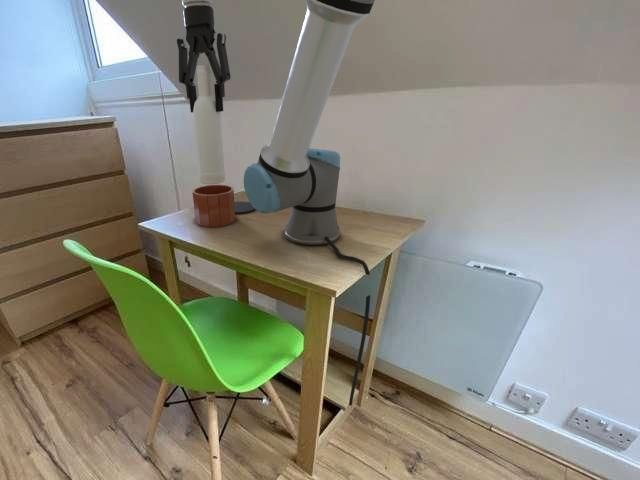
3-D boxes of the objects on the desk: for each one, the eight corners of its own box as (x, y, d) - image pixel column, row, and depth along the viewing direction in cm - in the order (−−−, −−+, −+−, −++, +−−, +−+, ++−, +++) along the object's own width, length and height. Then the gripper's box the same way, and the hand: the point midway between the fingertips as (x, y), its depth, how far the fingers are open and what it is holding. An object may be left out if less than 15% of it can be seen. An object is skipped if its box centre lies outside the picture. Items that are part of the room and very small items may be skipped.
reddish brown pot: (242, 221, 111) (241, 190, 106) (207, 230, 106) (204, 197, 100) (222, 211, 121) (220, 182, 115) (189, 219, 115) (185, 189, 110)
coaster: (263, 208, 121) (263, 207, 121) (232, 216, 116) (232, 214, 115) (243, 201, 131) (243, 199, 130) (214, 207, 125) (214, 206, 125)
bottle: (227, 178, 109) (219, 65, 93) (223, 184, 103) (215, 63, 87) (202, 178, 110) (191, 67, 94) (197, 184, 103) (184, 65, 88)
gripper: (241, 3, 83) (245, 110, 95) (173, 14, 91) (184, 111, 103) (226, -3, 77) (232, 112, 89) (155, 10, 86) (169, 113, 98)
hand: (206, 111), depth 96 cm, fingers closed on bottle, 8 cm apart
